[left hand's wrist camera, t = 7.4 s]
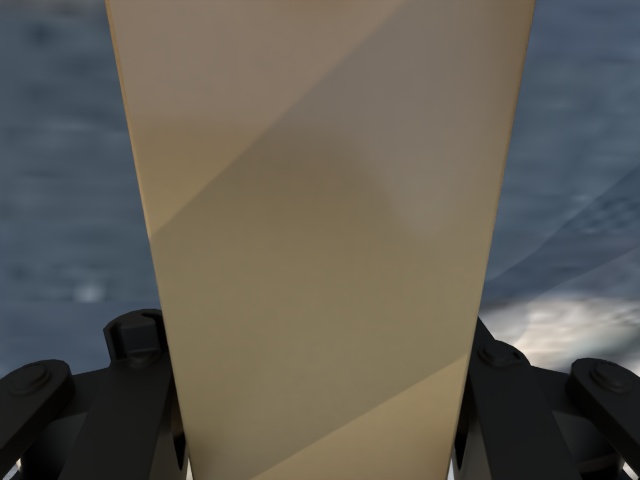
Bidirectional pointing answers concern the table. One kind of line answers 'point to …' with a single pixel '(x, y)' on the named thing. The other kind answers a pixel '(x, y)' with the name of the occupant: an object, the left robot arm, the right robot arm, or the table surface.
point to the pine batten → (320, 219)
